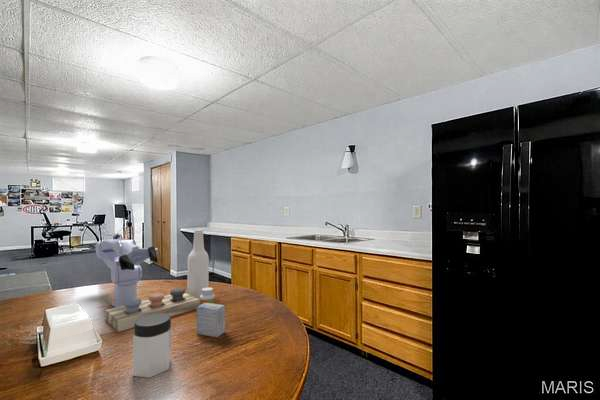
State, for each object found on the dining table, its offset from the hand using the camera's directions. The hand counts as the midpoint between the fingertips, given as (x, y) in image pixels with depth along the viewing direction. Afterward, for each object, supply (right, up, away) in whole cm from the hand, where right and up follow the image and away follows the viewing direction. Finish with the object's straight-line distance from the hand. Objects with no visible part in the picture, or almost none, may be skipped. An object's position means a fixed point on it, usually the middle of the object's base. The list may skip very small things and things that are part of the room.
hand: (145, 263), depth 100 cm
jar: (+19, -19, -30) cm, 41 cm away
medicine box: (+27, -20, -11) cm, 36 cm away
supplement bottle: (+21, -20, +3) cm, 30 cm away
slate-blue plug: (-3, -17, -2) cm, 18 cm away
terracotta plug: (+2, -18, +4) cm, 18 cm away
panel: (+1, -20, +4) cm, 20 cm away
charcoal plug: (+7, -18, +10) cm, 22 cm away
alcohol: (+11, -21, +23) cm, 32 cm away
